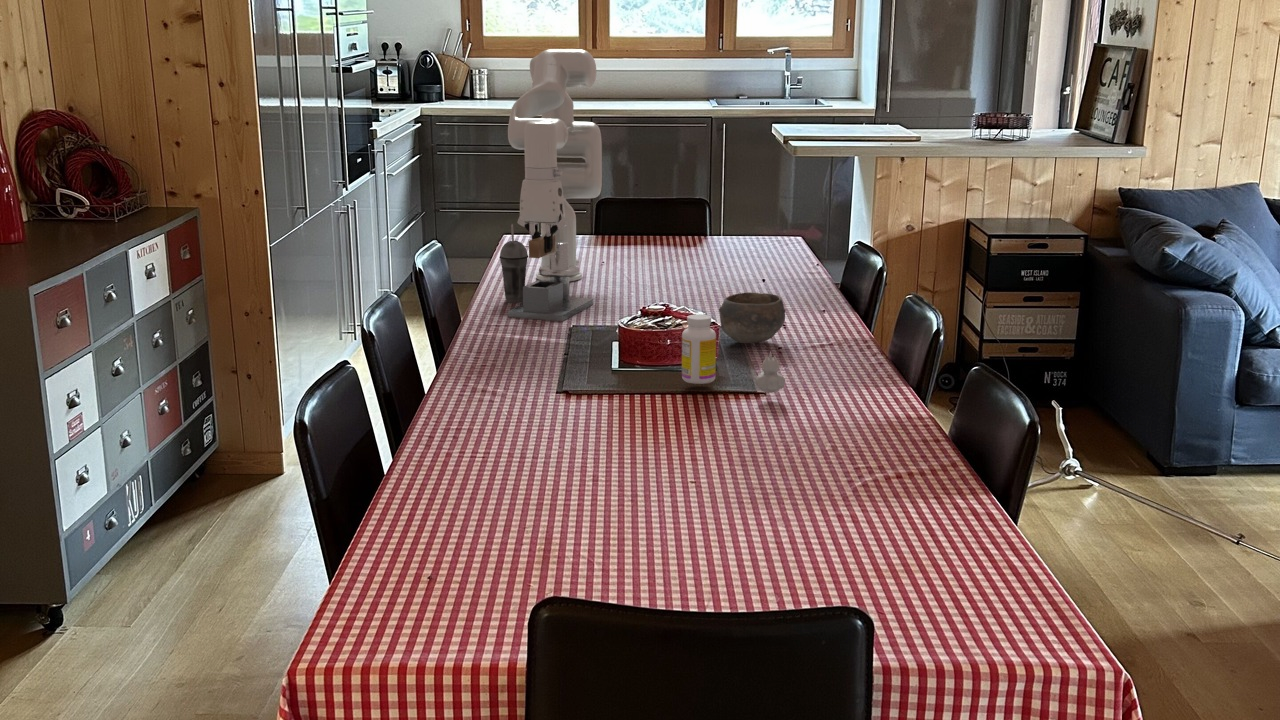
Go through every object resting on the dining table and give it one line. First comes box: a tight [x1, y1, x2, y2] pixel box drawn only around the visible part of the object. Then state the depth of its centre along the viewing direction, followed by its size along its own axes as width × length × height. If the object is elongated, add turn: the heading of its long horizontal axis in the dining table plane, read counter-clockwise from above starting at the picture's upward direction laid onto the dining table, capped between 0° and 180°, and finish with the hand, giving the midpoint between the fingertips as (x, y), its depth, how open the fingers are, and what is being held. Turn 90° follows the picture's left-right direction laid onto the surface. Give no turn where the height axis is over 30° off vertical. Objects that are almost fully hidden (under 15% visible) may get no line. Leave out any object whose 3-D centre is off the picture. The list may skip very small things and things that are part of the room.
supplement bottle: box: [681, 313, 717, 385], centre depth 238 cm, size 7×7×13 cm
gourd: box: [755, 350, 786, 394], centre depth 231 cm, size 5×7×8 cm
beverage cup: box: [499, 223, 529, 304], centre depth 307 cm, size 7×7×20 cm
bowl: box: [718, 291, 786, 344], centre depth 269 cm, size 14×15×10 cm
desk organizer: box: [507, 242, 594, 323], centre depth 297 cm, size 20×14×16 cm
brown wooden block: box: [528, 235, 555, 259], centre depth 290 cm, size 4×2×10 cm
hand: (542, 251), depth 291 cm, fingers closed on brown wooden block, 2 cm apart
